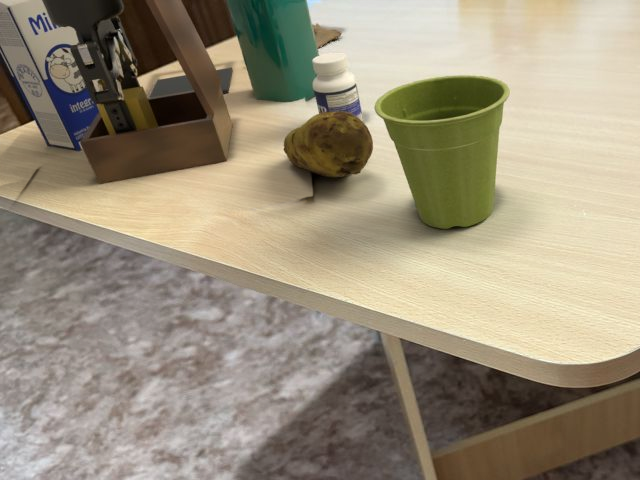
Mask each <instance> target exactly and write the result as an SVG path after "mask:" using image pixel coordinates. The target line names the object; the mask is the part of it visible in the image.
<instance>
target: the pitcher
mask: <svg viewBox="0 0 640 480" xmlns="http://www.w3.org/2000/svg"><path fill="white" fill-rule="evenodd" d="M226 4H227V8H228V10H229V13H230V17H231V20H232V24H233V28H234V30H235V34H236V38H237V41H238V44H239V47H240V51H241V54H242V58H243V61H244V65H245V69H246V71H247V75H248V78H249V82H250V85H251V89H252V92H253V95H254V99H255V100H258V101H267V102H268V101H269V102H278V103H279V102H280V103H292V102H298V101H300V100H303V99H304V101H305V102H306V101H309V100H310V99H312V98H314V97H315V94H314V90H313V81H314V79H315V78H316V77H317V76H318V75H317V74H316V73H315V71H314V67H313V62H312V60H313V59H314V58H315V57H317V56H320V54H319V48H317V44H316V40H315V35H314V31H313V26H312V24H313V22H312V18H311V14H310V10H309V5H308V1H307V0H226Z"/></svg>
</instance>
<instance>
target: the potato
mask: <svg viewBox="0 0 640 480" xmlns="http://www.w3.org/2000/svg"><path fill="white" fill-rule="evenodd" d="M364 123H365V122H364ZM364 123H363V122H362V121H361V120H360V119H359V118H358V117H357V116H355V115H353V114H351V113H349V112H346V111H336V112H331V111H330V112H322V113H320V114H319V113H317V114H315V115H313V116H312V117H310V118H309V119H308V120H307V121H306V122H305V123H303V124H302V125H301V126H298V127H296V128H294V129H293V130H291V131H290V132H288V134H287V135H286V136H285V137H284V140H283V152H284V153H285V154H286V156H287V159H288V160H289V162H291V164H293V165H295V166H296V167H298V168H299V169H302V170H303V169H304V170H307V171H309V172H311V173H314V174H317V175H320V176H322V177H325V178H327V177H328V178H342V177H343V178H344V177H347V176H350V175H358V174H361V171H362V170H363V169H364V168H365V166H366V165H367V163H368V161H369V160H370V158H371V157H372V154H373V152H374V151H373V150H374V141H373V140H374V139H373V137H372V134H371V132H370V130H369V128H368V126H367V125H366V124H364Z"/></svg>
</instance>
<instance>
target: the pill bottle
mask: <svg viewBox="0 0 640 480" xmlns="http://www.w3.org/2000/svg"><path fill="white" fill-rule="evenodd" d="M312 62H313V67H314V71H315V73H316V74H317V75H318V76H317V77H316V78H315V79H314V81H313V90H314V94H315V96H314V97H315V101H316V105H317V110H318V114H320V113H322V112H330V111H331V112H336V111H346V112H349V113H351V114H353V115H355V116H357V117H358V118H359V119H360V120H361V121H362V122H363V123H364V124H365V118H364V114H363V110H362V109H363V108H362V105H361V100H360V94H359V89H358V84H357V79H356V76H355V75H354V74H353V73H352V72H351V71H349V70H347V69H348V68H349V67H348V64H349V63H348V59H347V55H346V54H345V53H343V52H327V53H322V54H319V56H317V57H315V58H314V59H313V60H312ZM365 125H366V124H365Z"/></svg>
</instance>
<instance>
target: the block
mask: <svg viewBox="0 0 640 480" xmlns="http://www.w3.org/2000/svg"><path fill="white" fill-rule="evenodd" d="M122 92H123V95H124V100H125V102H126V104H127V106H128V109H129V111H130V114H131V116H132V118H133V121H134V123H135V125H136V128H137V130H142V129H148V128H154V127H159V126H158V124H157V121H156V119H155V116H154V114H153V111H152V109H151V106H150V103H149V101H148V98H149V97H148V96H147V93H146V91H145V89H144V86H140V87H136V88H130V89H124V90H122ZM103 105H104V104H103ZM103 105H100V104H97V107H98V109H99V112H100V114H101V116H102V119H103V121H104V123H105V125H106V128H107V130H108V132H109V134H110V135H113V134H116V133H115V130H114V128H113V126H112V124H111V121H110V119H109V117H108V115H107V112H106V110H105V108H104V106H103Z"/></svg>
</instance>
